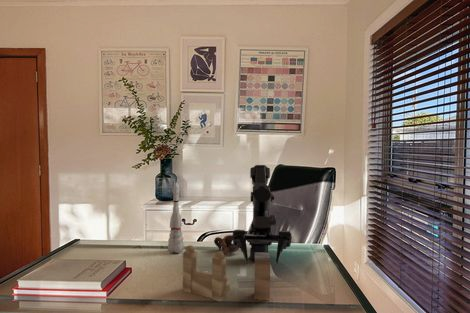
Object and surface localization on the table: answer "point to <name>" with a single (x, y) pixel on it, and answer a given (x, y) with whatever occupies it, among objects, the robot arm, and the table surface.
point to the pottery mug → (226, 244)
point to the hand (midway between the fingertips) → (262, 263)
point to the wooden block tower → (205, 276)
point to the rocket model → (175, 225)
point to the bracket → (262, 276)
